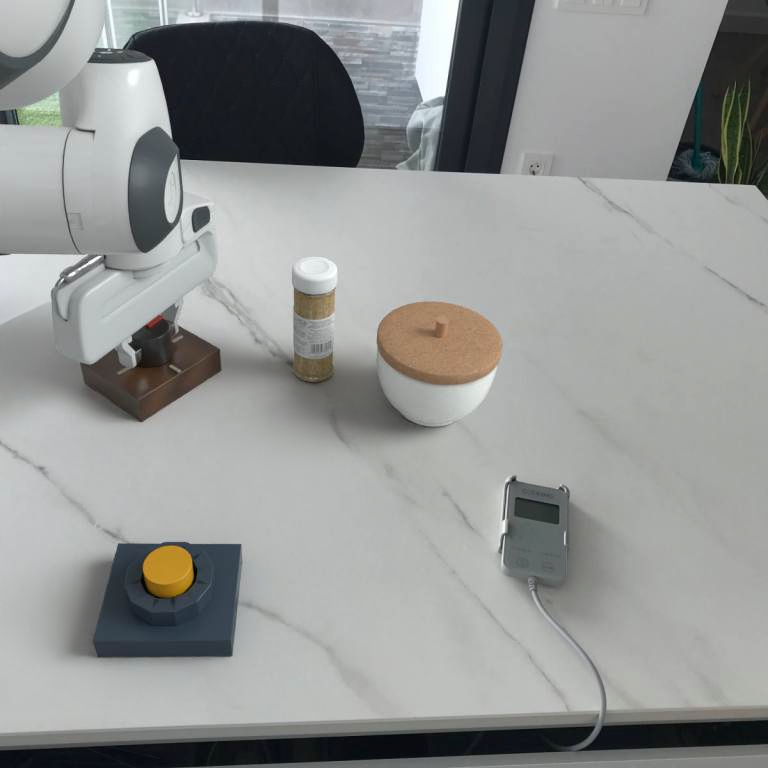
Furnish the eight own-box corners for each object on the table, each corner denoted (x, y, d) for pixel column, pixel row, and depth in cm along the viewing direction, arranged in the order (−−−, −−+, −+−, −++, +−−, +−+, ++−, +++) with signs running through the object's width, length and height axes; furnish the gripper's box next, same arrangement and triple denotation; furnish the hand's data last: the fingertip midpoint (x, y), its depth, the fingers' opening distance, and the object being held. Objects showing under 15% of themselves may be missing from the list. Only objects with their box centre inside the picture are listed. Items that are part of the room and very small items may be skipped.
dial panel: (142, 422, 78) (138, 398, 76) (84, 384, 81) (79, 360, 79) (221, 370, 85) (219, 347, 83) (165, 337, 89) (162, 314, 86)
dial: (153, 373, 79) (149, 343, 76) (120, 358, 80) (114, 328, 78) (181, 351, 82) (178, 321, 80) (148, 337, 83) (144, 308, 81)
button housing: (97, 657, 58) (88, 627, 55) (121, 559, 65) (114, 528, 62) (232, 656, 59) (229, 626, 56) (242, 559, 66) (240, 529, 63)
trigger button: (141, 598, 58) (138, 584, 57) (150, 559, 61) (147, 545, 60) (190, 598, 58) (188, 584, 57) (196, 559, 61) (194, 545, 60)
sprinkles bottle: (330, 357, 88) (334, 253, 79) (336, 382, 85) (341, 277, 76) (289, 359, 87) (289, 255, 79) (294, 385, 84) (294, 279, 75)
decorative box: (503, 440, 80) (524, 355, 73) (384, 450, 77) (393, 363, 70) (469, 364, 89) (484, 282, 82) (361, 371, 86) (367, 287, 79)
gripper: (77, 292, 63) (104, 416, 72) (225, 197, 78) (232, 311, 87) (20, 269, 65) (52, 393, 74) (174, 181, 80) (186, 294, 89)
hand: (150, 348), depth 81 cm, fingers closed on dial, 4 cm apart
